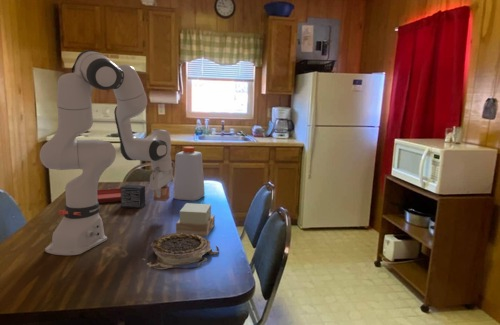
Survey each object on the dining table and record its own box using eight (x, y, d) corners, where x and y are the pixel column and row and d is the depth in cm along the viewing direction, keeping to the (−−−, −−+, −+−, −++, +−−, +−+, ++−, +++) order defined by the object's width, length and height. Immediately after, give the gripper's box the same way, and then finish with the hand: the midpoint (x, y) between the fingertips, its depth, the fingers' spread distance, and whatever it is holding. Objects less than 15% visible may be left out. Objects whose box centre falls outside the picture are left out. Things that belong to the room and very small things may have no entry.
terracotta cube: (165, 201, 163) (165, 189, 162) (153, 200, 163) (153, 188, 163) (169, 198, 168) (169, 186, 167) (157, 197, 169) (157, 185, 168)
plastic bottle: (182, 192, 211) (182, 144, 206) (206, 194, 207) (207, 146, 202) (170, 199, 197) (169, 148, 191) (196, 202, 193) (196, 150, 187)
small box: (146, 204, 186) (145, 185, 184) (141, 208, 180) (140, 188, 178) (126, 203, 187) (125, 184, 185) (120, 207, 181) (119, 187, 179)
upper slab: (206, 224, 149) (206, 212, 148) (179, 222, 150) (179, 211, 149) (210, 215, 160) (210, 204, 159) (186, 213, 161) (186, 203, 160)
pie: (131, 270, 120) (131, 256, 119) (151, 238, 146) (151, 226, 146) (216, 271, 121) (216, 257, 120) (220, 239, 147) (220, 227, 147)
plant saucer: (92, 195, 201) (92, 189, 200) (126, 193, 208) (126, 187, 207) (92, 205, 184) (92, 199, 184) (129, 202, 191) (129, 196, 191)
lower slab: (206, 237, 149) (206, 225, 148) (176, 234, 150) (176, 223, 150) (214, 225, 161) (214, 215, 160) (186, 223, 163) (186, 213, 162)
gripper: (160, 169, 153) (160, 201, 155) (174, 162, 173) (175, 190, 175) (145, 169, 153) (146, 200, 156) (162, 161, 173) (162, 189, 176)
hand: (161, 195), depth 166 cm, fingers closed on terracotta cube, 5 cm apart
